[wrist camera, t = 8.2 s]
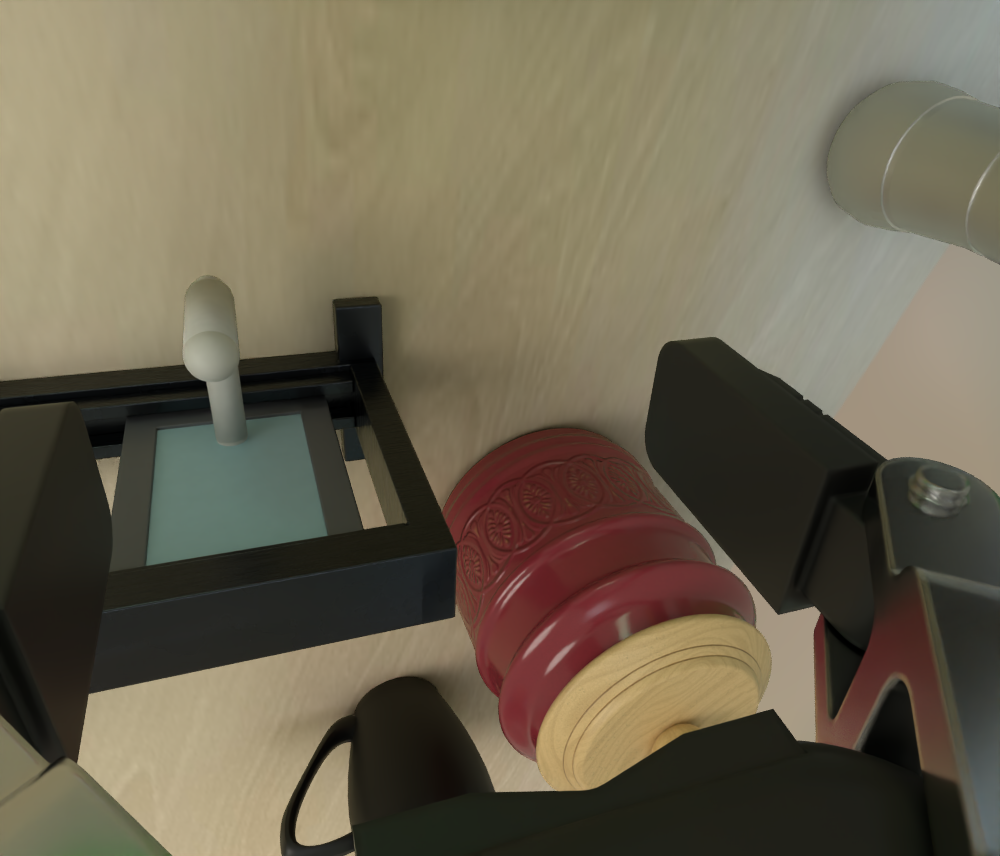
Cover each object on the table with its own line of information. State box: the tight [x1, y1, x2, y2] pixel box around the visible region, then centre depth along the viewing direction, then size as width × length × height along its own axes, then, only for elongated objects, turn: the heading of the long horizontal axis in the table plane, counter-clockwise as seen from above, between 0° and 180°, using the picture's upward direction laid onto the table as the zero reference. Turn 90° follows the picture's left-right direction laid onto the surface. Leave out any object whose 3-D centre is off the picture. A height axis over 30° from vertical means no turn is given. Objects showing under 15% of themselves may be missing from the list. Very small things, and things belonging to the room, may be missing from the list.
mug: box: [280, 677, 495, 856], centre depth 43 cm, size 8×12×10 cm
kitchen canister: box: [442, 428, 772, 791], centre depth 36 cm, size 13×13×18 cm
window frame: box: [0, 297, 457, 694], centre depth 26 cm, size 19×8×14 cm, turn 87°
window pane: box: [109, 275, 364, 572], centre depth 25 cm, size 8×7×11 cm
